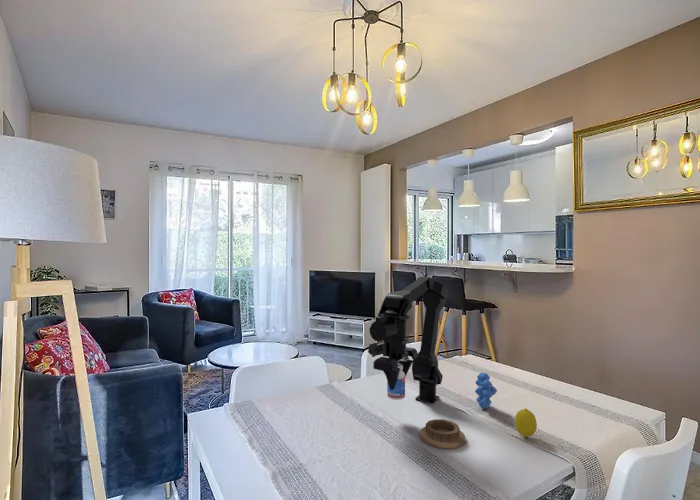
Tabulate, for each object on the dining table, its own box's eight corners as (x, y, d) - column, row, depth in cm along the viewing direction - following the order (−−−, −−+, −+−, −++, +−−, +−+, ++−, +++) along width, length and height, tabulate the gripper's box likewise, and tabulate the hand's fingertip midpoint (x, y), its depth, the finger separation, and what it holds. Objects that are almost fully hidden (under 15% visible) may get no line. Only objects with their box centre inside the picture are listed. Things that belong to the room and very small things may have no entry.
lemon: (535, 434, 112) (535, 406, 112) (537, 444, 107) (538, 414, 107) (514, 431, 114) (514, 403, 114) (515, 440, 109) (515, 411, 109)
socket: (429, 424, 118) (430, 413, 118) (470, 435, 112) (470, 423, 112) (413, 441, 108) (413, 429, 108) (457, 453, 101) (457, 441, 101)
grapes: (502, 416, 124) (503, 378, 124) (480, 416, 124) (481, 377, 124) (491, 402, 135) (492, 366, 135) (471, 401, 136) (471, 366, 136)
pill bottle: (404, 401, 118) (404, 368, 118) (386, 399, 119) (386, 367, 119) (405, 393, 124) (405, 362, 124) (388, 392, 125) (388, 361, 125)
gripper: (387, 327, 134) (386, 373, 134) (357, 337, 118) (357, 390, 118) (418, 331, 128) (417, 380, 128) (391, 343, 112) (391, 398, 112)
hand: (396, 386), depth 122 cm, fingers closed on pill bottle, 5 cm apart
